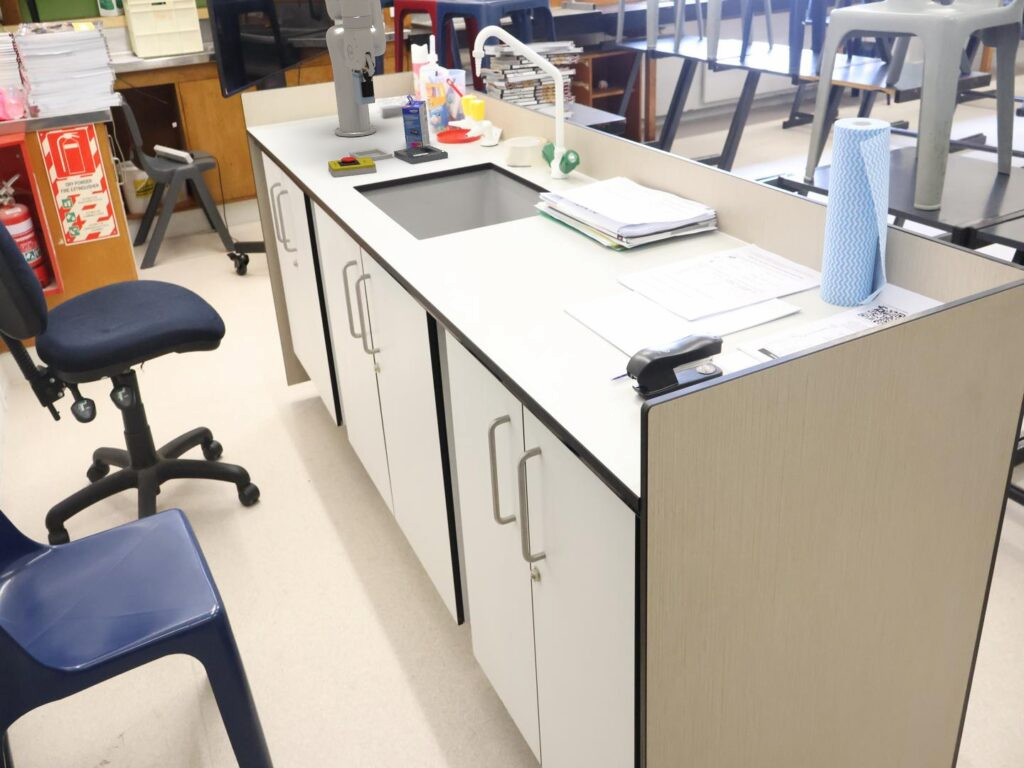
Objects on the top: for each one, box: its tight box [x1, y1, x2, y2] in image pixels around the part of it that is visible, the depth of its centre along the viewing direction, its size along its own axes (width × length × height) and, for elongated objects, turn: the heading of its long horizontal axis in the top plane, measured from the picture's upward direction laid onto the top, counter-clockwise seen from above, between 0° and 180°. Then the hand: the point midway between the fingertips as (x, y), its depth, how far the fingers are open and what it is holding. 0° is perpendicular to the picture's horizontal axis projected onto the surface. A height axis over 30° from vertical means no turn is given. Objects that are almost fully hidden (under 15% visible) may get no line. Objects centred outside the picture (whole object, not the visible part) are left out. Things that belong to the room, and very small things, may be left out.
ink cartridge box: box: [401, 93, 431, 149], centre depth 261 cm, size 10×6×14 cm, turn 174°
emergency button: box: [327, 156, 377, 178], centre depth 239 cm, size 9×4×15 cm
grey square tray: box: [348, 147, 394, 162], centre depth 252 cm, size 9×9×2 cm
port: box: [393, 144, 449, 165], centre depth 250 cm, size 11×11×2 cm
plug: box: [352, 71, 376, 105], centre depth 244 cm, size 4×4×8 cm
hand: (364, 94), depth 245 cm, fingers closed on plug, 4 cm apart
